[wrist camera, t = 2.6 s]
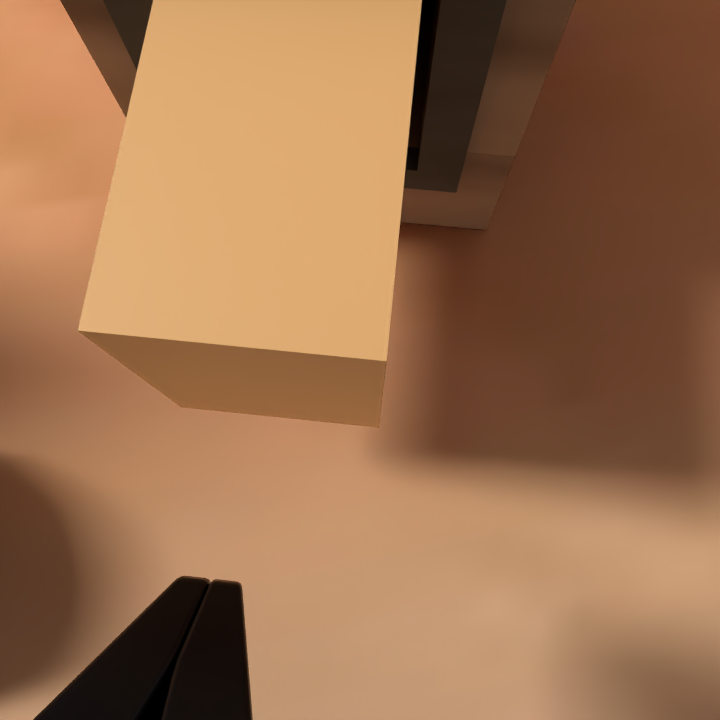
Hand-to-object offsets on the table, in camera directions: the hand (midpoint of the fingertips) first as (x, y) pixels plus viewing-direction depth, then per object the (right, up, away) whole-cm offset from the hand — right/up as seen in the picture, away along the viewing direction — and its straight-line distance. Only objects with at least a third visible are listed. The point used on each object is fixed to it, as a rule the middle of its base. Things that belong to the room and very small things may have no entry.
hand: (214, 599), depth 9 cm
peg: (+1, +7, +6) cm, 9 cm away
